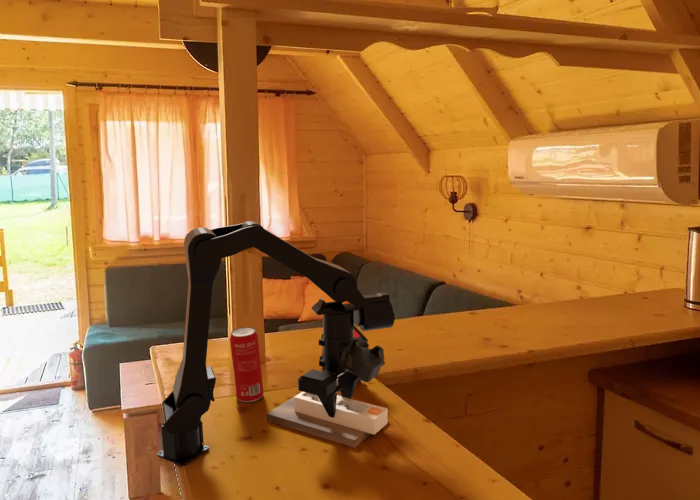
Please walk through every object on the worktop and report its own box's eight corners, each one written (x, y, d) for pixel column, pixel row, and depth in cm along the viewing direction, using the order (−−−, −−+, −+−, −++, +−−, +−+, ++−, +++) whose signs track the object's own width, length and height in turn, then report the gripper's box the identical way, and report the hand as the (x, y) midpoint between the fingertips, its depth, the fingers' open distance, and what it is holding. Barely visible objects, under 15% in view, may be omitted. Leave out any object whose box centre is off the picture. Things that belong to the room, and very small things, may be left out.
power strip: (374, 434, 111) (374, 417, 110) (294, 411, 120) (293, 395, 119) (387, 423, 115) (387, 406, 114) (309, 401, 124) (308, 385, 123)
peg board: (354, 447, 109) (354, 427, 108) (267, 420, 119) (266, 401, 119) (386, 420, 119) (386, 401, 118) (303, 397, 129) (302, 379, 129)
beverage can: (269, 394, 131) (266, 328, 128) (249, 406, 125) (246, 337, 122) (247, 389, 134) (244, 323, 131) (227, 400, 128) (223, 332, 125)
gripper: (348, 358, 102) (349, 443, 105) (400, 326, 118) (399, 402, 121) (295, 346, 108) (297, 427, 111) (350, 317, 123) (351, 389, 126)
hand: (339, 411), depth 117 cm, fingers closed on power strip, 5 cm apart
